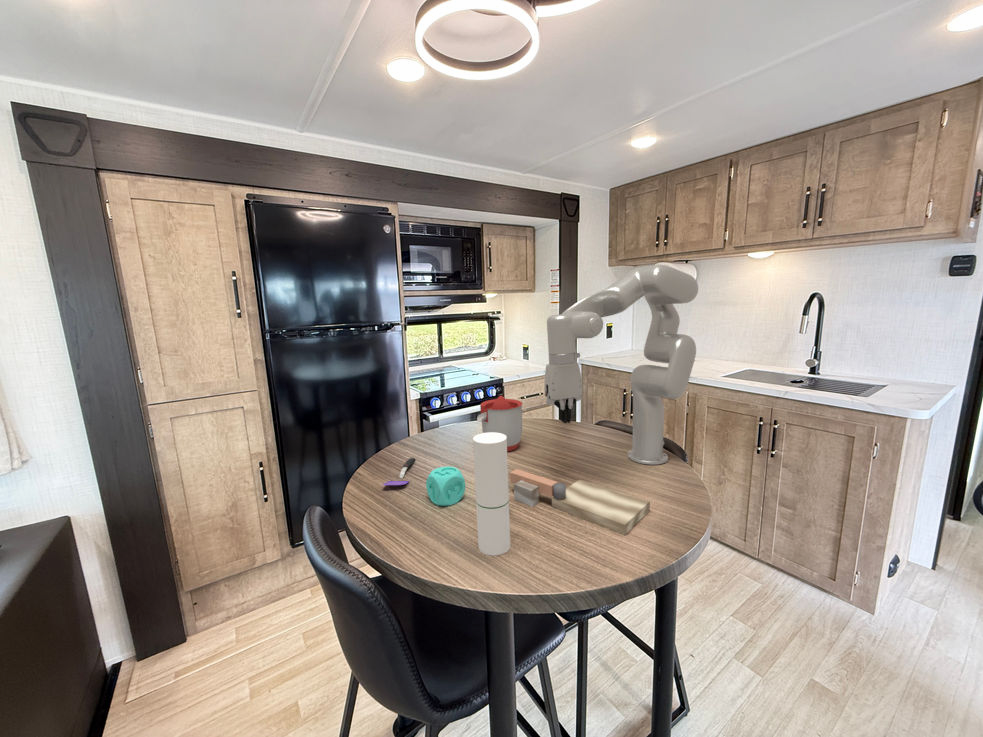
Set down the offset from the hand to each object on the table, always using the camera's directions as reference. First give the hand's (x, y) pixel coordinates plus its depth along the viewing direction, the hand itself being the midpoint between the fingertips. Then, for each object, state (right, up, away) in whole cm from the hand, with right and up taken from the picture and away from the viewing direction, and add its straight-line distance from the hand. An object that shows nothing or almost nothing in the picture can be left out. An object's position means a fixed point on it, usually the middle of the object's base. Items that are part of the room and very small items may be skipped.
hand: (565, 421), depth 112 cm
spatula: (-50, -20, +14) cm, 55 cm away
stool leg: (-9, -18, -6) cm, 20 cm away
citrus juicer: (-18, -15, +34) cm, 41 cm away
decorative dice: (-34, -21, -3) cm, 40 cm away
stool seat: (+2, -21, -10) cm, 23 cm away
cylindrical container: (-21, -24, -26) cm, 41 cm away
